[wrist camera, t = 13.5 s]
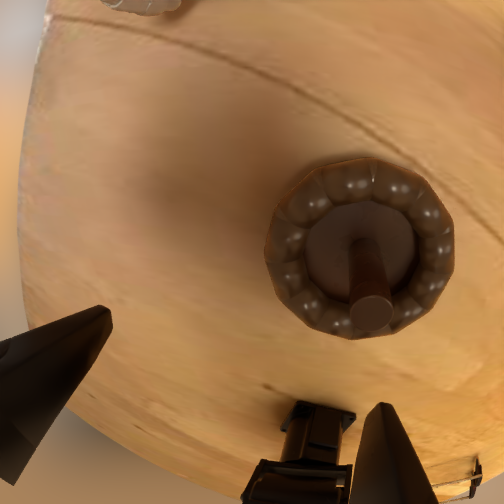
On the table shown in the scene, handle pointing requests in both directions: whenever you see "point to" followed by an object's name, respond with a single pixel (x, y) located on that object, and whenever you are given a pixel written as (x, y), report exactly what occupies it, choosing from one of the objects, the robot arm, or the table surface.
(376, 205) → the peg stand
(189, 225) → the table surface
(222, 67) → the table surface
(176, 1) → the mug
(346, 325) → the ring
